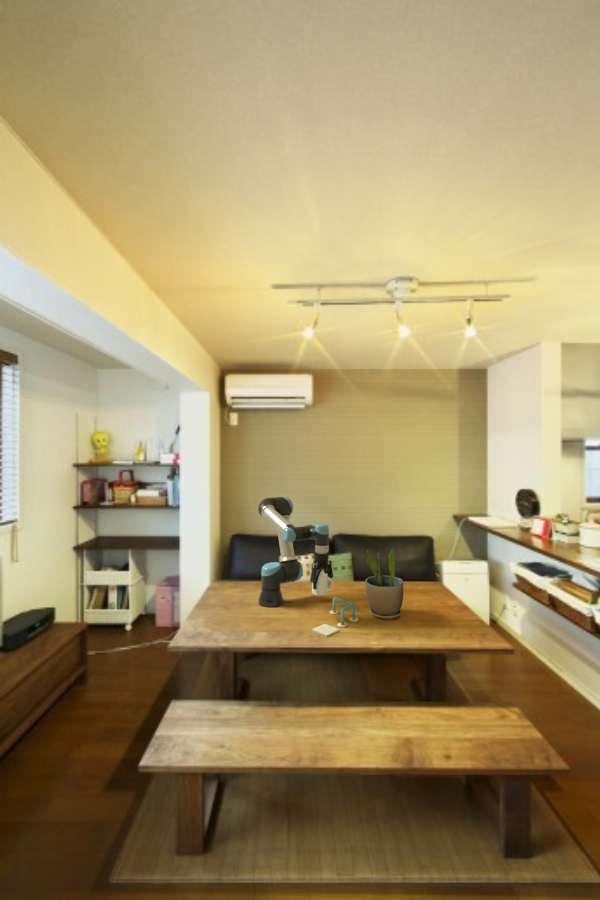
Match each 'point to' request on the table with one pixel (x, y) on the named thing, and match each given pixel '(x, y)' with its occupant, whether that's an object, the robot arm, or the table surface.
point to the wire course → (334, 612)
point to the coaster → (325, 630)
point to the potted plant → (384, 590)
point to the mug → (323, 584)
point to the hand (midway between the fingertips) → (321, 592)
